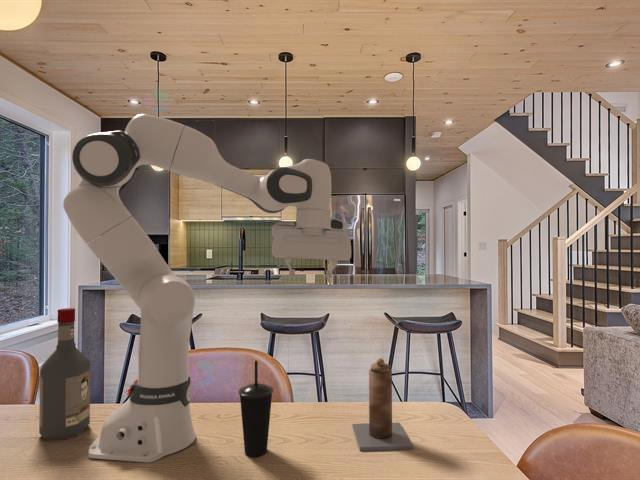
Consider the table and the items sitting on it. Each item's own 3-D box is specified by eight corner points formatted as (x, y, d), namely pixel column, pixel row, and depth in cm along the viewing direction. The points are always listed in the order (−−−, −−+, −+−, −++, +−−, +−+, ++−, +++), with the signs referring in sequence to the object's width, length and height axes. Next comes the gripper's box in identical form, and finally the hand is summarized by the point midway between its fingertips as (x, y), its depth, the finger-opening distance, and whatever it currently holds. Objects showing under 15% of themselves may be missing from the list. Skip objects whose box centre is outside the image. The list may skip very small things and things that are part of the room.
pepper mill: (371, 439, 93) (371, 361, 94) (367, 429, 99) (367, 355, 99) (394, 438, 94) (394, 361, 94) (389, 428, 99) (388, 355, 100)
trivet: (359, 450, 90) (359, 447, 90) (352, 427, 102) (352, 423, 102) (413, 449, 91) (412, 445, 91) (399, 425, 103) (399, 422, 103)
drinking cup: (266, 462, 85) (266, 367, 85) (232, 458, 87) (232, 364, 87) (277, 445, 93) (277, 357, 93) (246, 442, 94) (246, 355, 94)
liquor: (33, 440, 95) (35, 312, 96) (57, 423, 104) (58, 306, 105) (73, 439, 95) (74, 312, 96) (93, 423, 105) (94, 306, 105)
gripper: (271, 219, 100) (268, 275, 99) (353, 223, 102) (351, 278, 100) (273, 222, 107) (270, 275, 105) (350, 226, 108) (348, 278, 107)
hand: (310, 277), depth 103 cm, fingers open, 8 cm apart
